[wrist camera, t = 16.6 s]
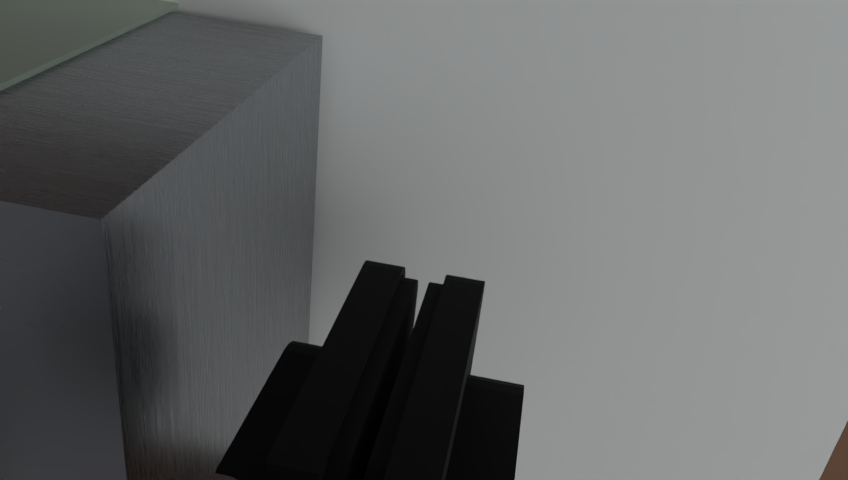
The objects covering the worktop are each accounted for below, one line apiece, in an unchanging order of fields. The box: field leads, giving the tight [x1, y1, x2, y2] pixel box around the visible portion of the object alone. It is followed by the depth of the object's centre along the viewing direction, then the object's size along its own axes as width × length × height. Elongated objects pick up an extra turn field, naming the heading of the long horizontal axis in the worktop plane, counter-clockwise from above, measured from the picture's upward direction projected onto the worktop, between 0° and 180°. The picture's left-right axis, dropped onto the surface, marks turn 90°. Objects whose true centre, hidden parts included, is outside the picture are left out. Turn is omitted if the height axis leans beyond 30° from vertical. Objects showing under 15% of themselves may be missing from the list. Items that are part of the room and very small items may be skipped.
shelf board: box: [161, 0, 848, 480], centre depth 15 cm, size 12×26×1 cm, turn 84°
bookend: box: [0, 12, 323, 480], centre depth 11 cm, size 7×2×6 cm, turn 174°
